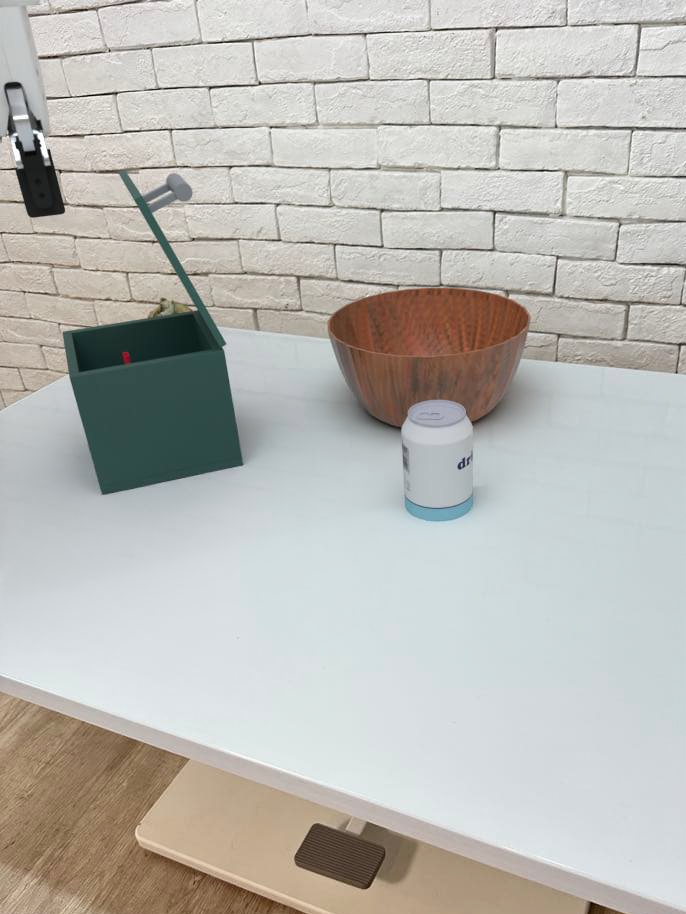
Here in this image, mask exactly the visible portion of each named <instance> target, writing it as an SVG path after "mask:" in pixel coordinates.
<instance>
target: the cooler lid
mask: <svg viewBox="0 0 686 914" xmlns="http://www.w3.org/2000/svg"><path fill="white" fill-rule="evenodd" d="M118 175H119V177H120V179H121V181H122V182H123V184H124V186H125V187H126V189H127V191H128V193H129V195H130V196H131V198H132V199H133V201H134V203H135V205H136V206H137V207H138V210H139V211H140V213H141V215H142V217H143V219H144V220H145V222H146V224H147V225H148V227H149V230H151V233H152V234H153V235H154V237H155V239H156V241H157V243H158V244H159V246H160V248H161V250H162V251H163V253H164V254H165V256H166V258H167V260H168V261H169V264H170V265H171V267H172V269H173V270H174V272H175V273H176V276H177V277H178V279H179V280H180V282H181V284H182V285H183V287H184V289H185V291H186V292H187V294H188V296H189V299H190V300H191V301H192V303H193V305H194V307H195V308H196V310H198V311H199V313H200V315H201V316H202V318H203V320H204V321H205V323H206V325H207V326H208V328H209V330H210V331H211V333H212V335H213V337H214V338H215V340H216V342H217V343H218V345H219V347H220V348H221V347H222V348H224V347H225V346H226V345H227V342H226V340H225V339H224V337H223V335H222V333H221V331H220V330H219V328H218V326H217V324H216V323H215V321H214V319H213V318H212V316H211V314H210V312H209V310H208V309H207V306H206V305H205V304H204V302H203V300H202V299H201V296H200V295H199V293H198V291H197V289H196V288H195V286H194V284H193V283H192V281H191V279H190V277H189V275H188V274H187V272H186V271H185V268H184V267H183V265H182V263H181V261H180V260H179V258H178V256H177V255H176V253H175V251H174V249H173V247H172V245H171V244H170V242H169V240H168V239H167V237H166V235H165V233H164V232H163V230H162V228H161V226H160V225H159V223H158V221H157V219H156V217H155V216H154V214H153V213H155V212H157V211H159V210H160V209H162V208H164V207H166V206H168V205H170V204H172V203H173V202H175V201H177V200H178V201H180V202H183V203H186V202H188V201H190V200H191V199H192V197H193V194H194V193H193V192H194V191H193V188H192V186H191V185H190V184H189V183H188V182H187V181H186V180H185V178H184V177H182V176H181V175H180V174H179V173H177V172H172V173H170V174H168V176H167V177H166V180H165V183H164V184H162V185H160V186H158V187H157V188H154V189H152V190H151V191H148V192H147V193H145V194H142V193H141V191H139V189H138V187H137V186H136V184H135V183H134V181H133V180H132V178H131V177H130V175H129V174H128V172H127V171H126V170H125V169H124V170H122V171H120V172H118ZM169 192H170V193H169ZM166 193H168V194H166ZM165 194H166V195H165ZM163 195H164V196H163ZM161 196H162V197H161ZM159 197H161V198H159ZM157 198H159V199H157ZM155 199H157V200H155ZM153 200H155V201H153ZM151 201H153V202H151ZM150 202H151V203H150ZM148 203H149V204H148Z"/></svg>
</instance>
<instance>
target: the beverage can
mask: <svg viewBox="0 0 686 914" xmlns="http://www.w3.org/2000/svg"><path fill="white" fill-rule="evenodd" d="M400 429H401V431H400V433H401V451H402V452H401V453H402V471H403V472H402V473H403V475H402V476H403V494H404V508H405V510H406V511H407V512H408V514H410V515H411V516H412V517H414V518H417V519H418V520H423V521H425V522H426V521H427V522H435V523H436V522H449V521H453V520H457V519H459V518H462V517H464V516H465V515H467V514H468V513H469V512H470V511H471V510H472V508H473V505H474V500H473V499H474V427H473V423H472V422H470V420H469V419H468V417H467V415H466V410H465V408H464V407H463V406H462V405H460V404H458V403H456V402H452V401H447V400H429V401H424V402H420V403H418V404H415V405H413V406H412V407H411V408H410V409H409V410H408V416H407V418H406V420H405V422H404V424H403V426H402V427H401V428H400Z"/></svg>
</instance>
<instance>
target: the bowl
mask: <svg viewBox="0 0 686 914" xmlns="http://www.w3.org/2000/svg"><path fill="white" fill-rule="evenodd" d="M531 318H532V315H531V314H530V313H529V310H528V309H527V308H526V307H525V306H524V305H522V304H521V303H519V302H518V301H516V300H514V299H511V298H509V297H506V296H503V295H500V294H497V293H493V292H489V291H483V290H479V289H471V288H470V289H469V288H459V287H419V288H405V289H398V290H391V291H385V292H382V293H381V292H380V293H377V294H372V295H368V296H365V297H362V298H359V299H357V300H354V301H351V302H349V303H347V304H345V305H343V306H341V307H340V308H338V309H337V310H335V311H334V312H333V313H332V314H331V316H330V317H329V318H328V319H327V321H326V324H327V333H328V337H329V340H330V343H331V347H332V351H333V354H334V356H335V359H336V362H337V365H338V367H339V370H340V372H341V374H342V376H343V378H344V380H345V382H346V384H347V386H348V389H349V390H350V392H351V393H352V394H353V396H354V397H355V399H356V400H357V401H358V403H359V404H360V406H361V407H362V408H363V409H364V410H365V411H366V412H367V413H368V414H369V415H371V416H372V417H374V418H376V419H377V420H379V421H380V422H383V423H385V424H389V425H391V426H394V427H397V428H402V426H403V424H404V422H405V420H406V418H407V416H408V410H409V409H410V408H411V407H412V406H413V405H415V404H418V403H420V402H424V401H429V400H447V401H452V402H456V403H458V404H460V405H462V406H463V407H464V408H465V410H466V415H467V417H468V419H469V420H470V422H471V423H473V422H476V421H478V420H479V419H481V418H483V417H485V416H486V415H488V414H489V413H491V412H492V411H493V410H494V409H495V407H496V406H497V405H498V404H499V403H500V402H501V401H502V400H503V399H504V397H505V396H506V394H507V392H508V391H509V388H510V387H511V385H512V383H513V381H514V378H515V376H516V373H517V371H518V368H519V366H520V363H521V360H522V356H523V353H524V350H525V345H526V342H527V338H528V333H529V329H530V324H531Z"/></svg>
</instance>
